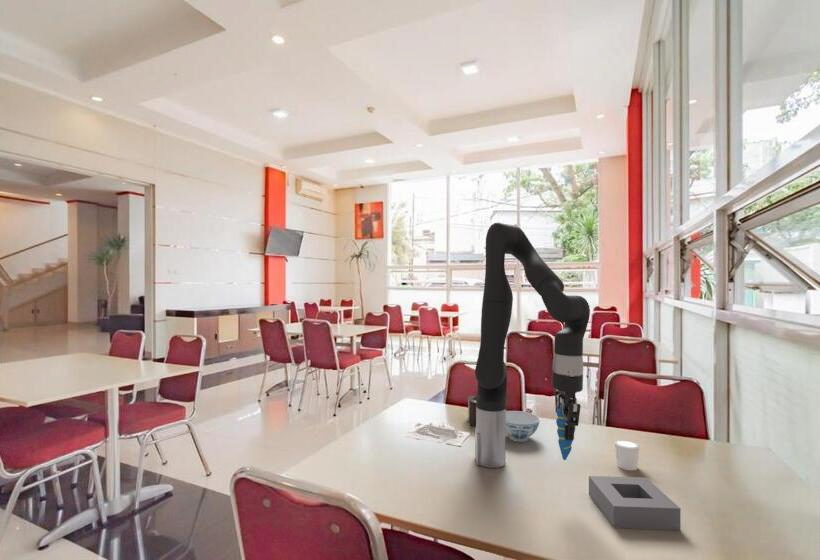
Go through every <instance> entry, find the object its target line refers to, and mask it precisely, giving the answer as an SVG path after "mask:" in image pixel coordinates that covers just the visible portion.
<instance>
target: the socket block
mask: <svg viewBox="0 0 820 560" xmlns="http://www.w3.org/2000/svg"><path fill="white" fill-rule="evenodd" d="M589 495H590V496H591V497H590V496H589ZM588 496H589V497H590V499H591V500H592V499H593V500H592V501H593V502H594V504H595V503H596V504H595V505H596V506H597V507H598V509H599V510H600V512H601V513H602V515H603V516H604V517H605V518H606V519H607V521H608V523H609V524H610V525H611V527H612V528H613V529H632V530H633V529H636V530H637V529H638V530H658V531H659V530H661V531H663V530H664V531H681V507H680V506H678V505H677V503H675V502H674V501H673V500H672V499H670V498H669V497H668V496H667V495H666V494H665V493H664V492H663V491H662V490H661V489H660V488H658V487H657V486H656V485H655V483H653V482H652V481H651V480H649V479H648V477H639V476H638V477H637V476H636V477H635V476H634V477H633V476H609V475H608V476H606V475H605V476H604V475H588Z"/></svg>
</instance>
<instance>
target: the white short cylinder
mask: <svg viewBox="0 0 820 560" xmlns="http://www.w3.org/2000/svg"><path fill="white" fill-rule="evenodd" d="M614 449H615V460H616V466H617V467H618V468H620V469H622V470H625V471H637V469H638V464H639V453H640V445H639V444H638V443H636V442H634V441H630V440H628V439H627V440H625V439H617V440H615V441H614Z"/></svg>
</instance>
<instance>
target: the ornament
mask: <svg viewBox="0 0 820 560" xmlns="http://www.w3.org/2000/svg"><path fill="white" fill-rule="evenodd" d="M566 412H567V413H568V411H566ZM556 415H557V418H556V420H555V422H556V426H557V428H556V429H557V430H556V434H557V435H558V447H559V451H560V453H561V458H562V460H563V461H566V460H567V458H568V457H569V455H570V453H571V452H572V445H573V442H574V440H566V439H565V438H564V433H565V420H564V416H563V415H562V408H559V409H558V410H557V413H556ZM571 421H572V418H571ZM575 431H576V426H574V433H575Z"/></svg>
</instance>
